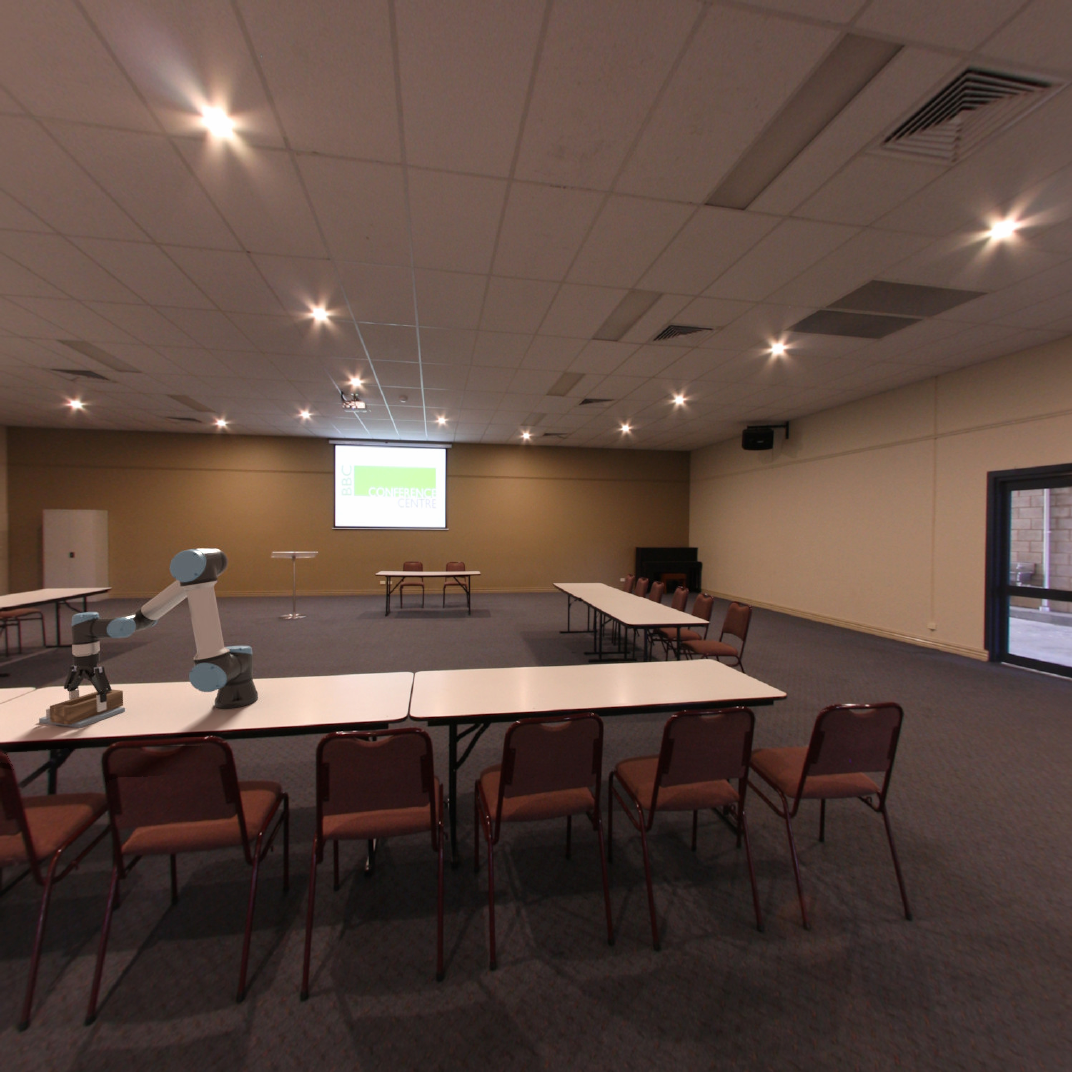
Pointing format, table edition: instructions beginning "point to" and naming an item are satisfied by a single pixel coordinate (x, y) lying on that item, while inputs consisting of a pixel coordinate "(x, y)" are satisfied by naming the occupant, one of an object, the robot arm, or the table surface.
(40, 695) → the table surface
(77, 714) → the frame
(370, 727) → the table surface
